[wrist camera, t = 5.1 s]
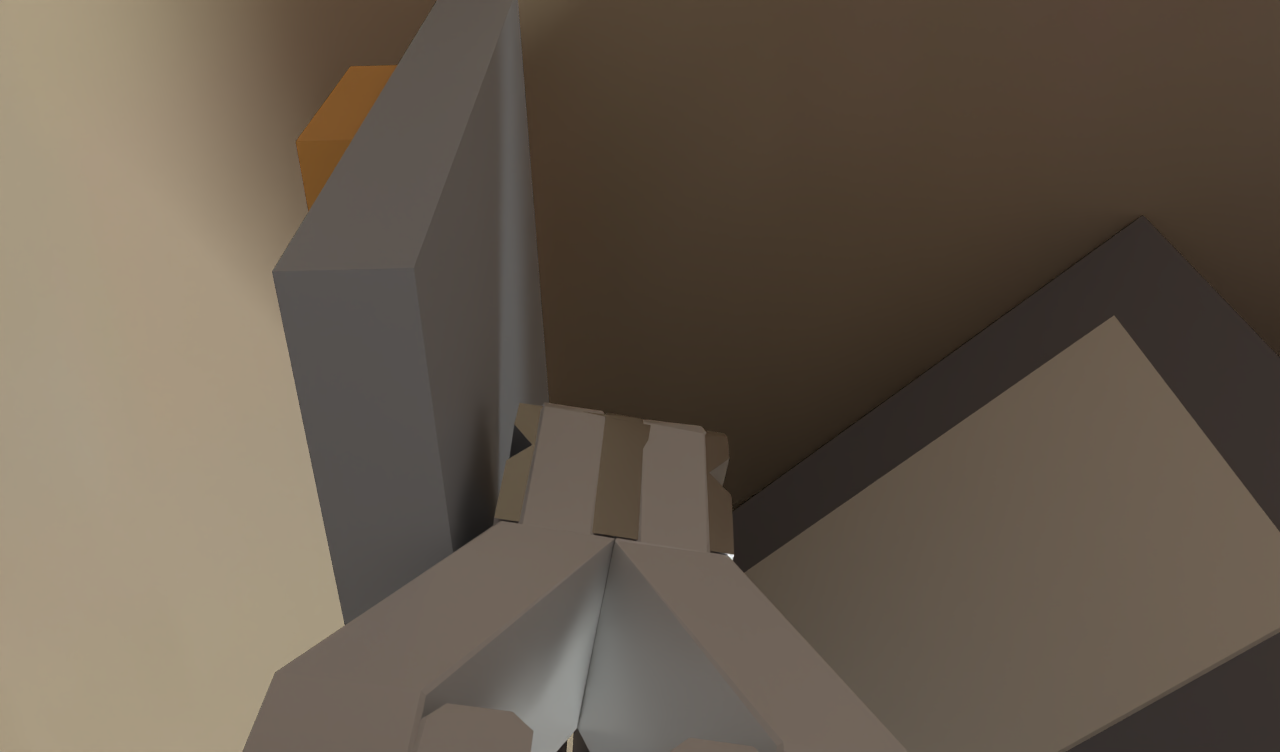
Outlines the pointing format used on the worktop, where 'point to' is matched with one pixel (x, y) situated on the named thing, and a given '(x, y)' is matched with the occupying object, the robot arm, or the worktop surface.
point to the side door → (416, 297)
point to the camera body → (1052, 527)
